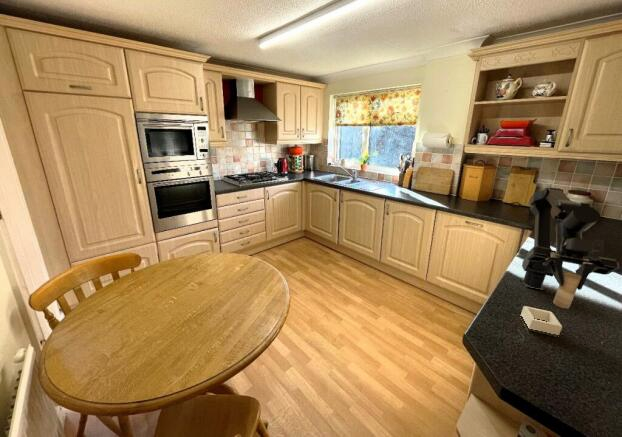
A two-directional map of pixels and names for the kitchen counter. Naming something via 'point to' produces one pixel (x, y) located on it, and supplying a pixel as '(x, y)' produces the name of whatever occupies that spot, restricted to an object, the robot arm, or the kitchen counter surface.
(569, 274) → the wick dowel
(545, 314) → the cream square tray
